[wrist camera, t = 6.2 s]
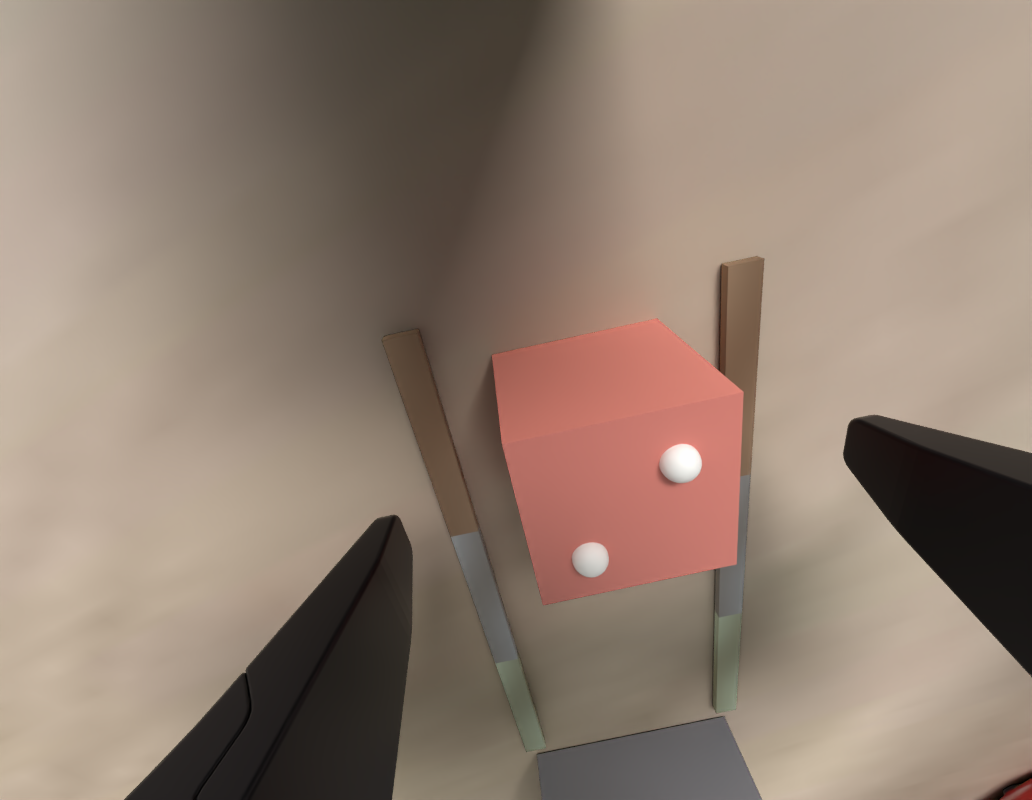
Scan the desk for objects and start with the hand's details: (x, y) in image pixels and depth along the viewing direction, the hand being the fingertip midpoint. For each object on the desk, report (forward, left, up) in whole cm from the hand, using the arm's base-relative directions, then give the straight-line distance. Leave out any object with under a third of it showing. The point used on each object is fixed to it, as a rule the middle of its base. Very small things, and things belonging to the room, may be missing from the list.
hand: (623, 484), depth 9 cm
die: (0, 0, -3) cm, 3 cm away
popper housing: (0, +20, -3) cm, 20 cm away
